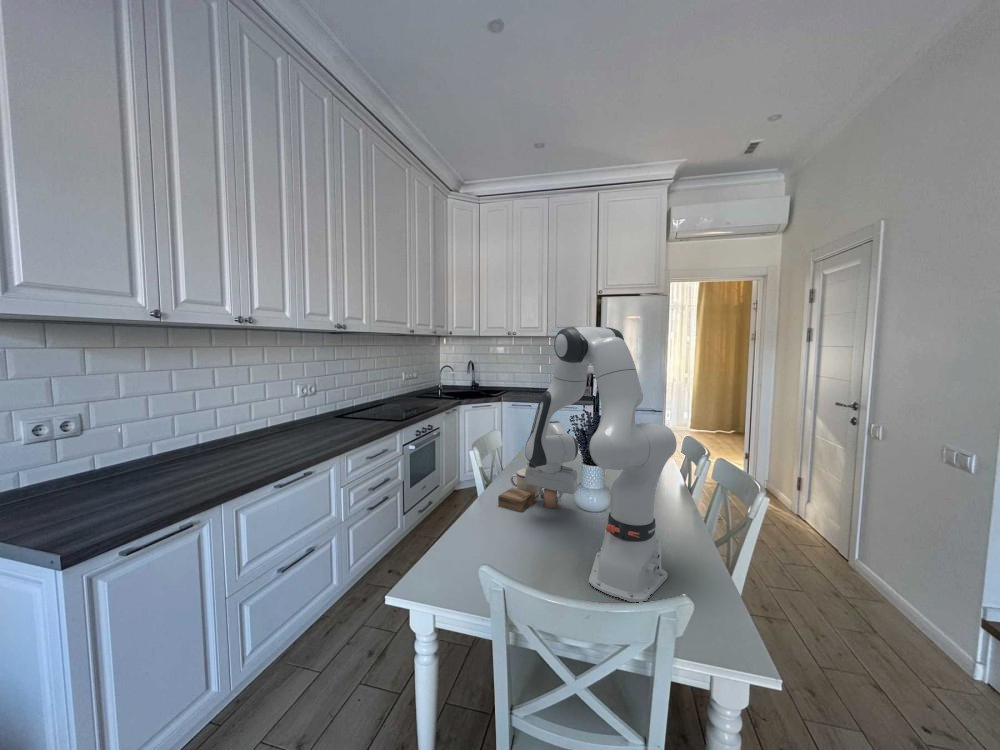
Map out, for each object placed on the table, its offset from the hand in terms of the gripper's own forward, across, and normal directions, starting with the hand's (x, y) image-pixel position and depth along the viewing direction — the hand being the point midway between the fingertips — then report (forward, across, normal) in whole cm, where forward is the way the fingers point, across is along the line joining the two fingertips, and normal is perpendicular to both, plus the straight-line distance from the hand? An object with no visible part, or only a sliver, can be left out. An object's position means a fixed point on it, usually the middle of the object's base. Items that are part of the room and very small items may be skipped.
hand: (550, 500), depth 147 cm
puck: (+2, 0, 0) cm, 2 cm away
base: (+2, +11, +6) cm, 13 cm away
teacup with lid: (+2, +14, -5) cm, 15 cm away
